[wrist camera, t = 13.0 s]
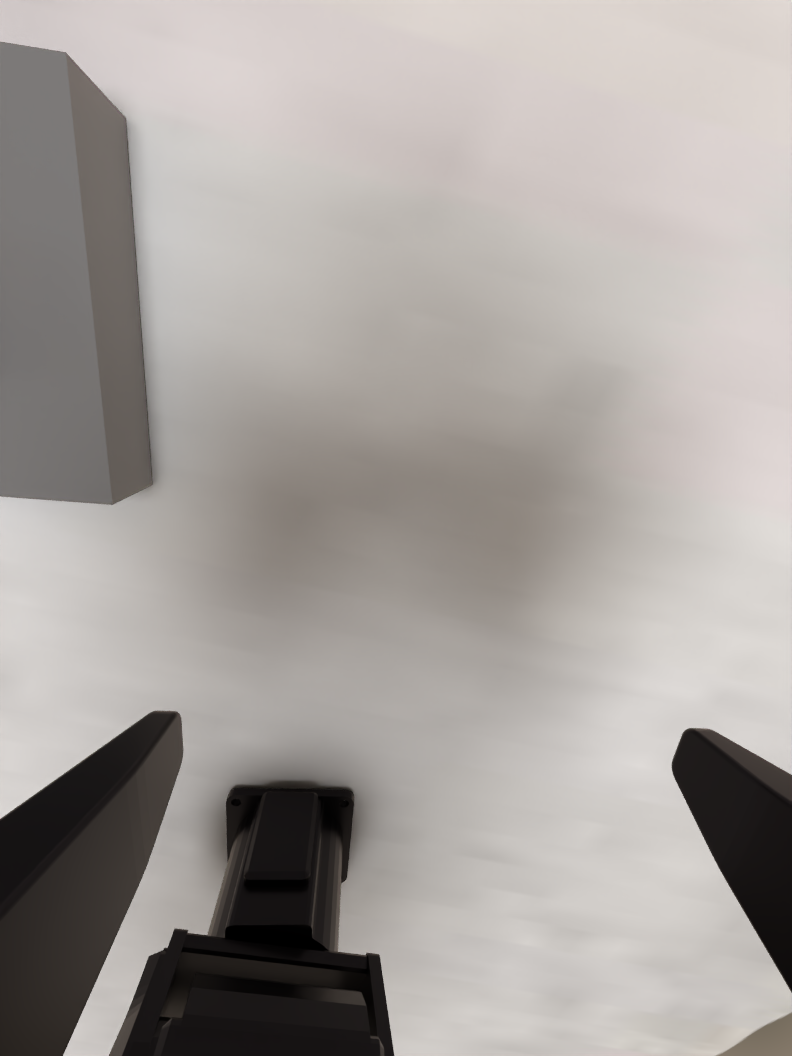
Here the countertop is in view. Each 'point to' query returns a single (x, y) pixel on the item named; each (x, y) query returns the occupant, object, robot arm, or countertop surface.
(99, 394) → the slate base
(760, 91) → the countertop surface
